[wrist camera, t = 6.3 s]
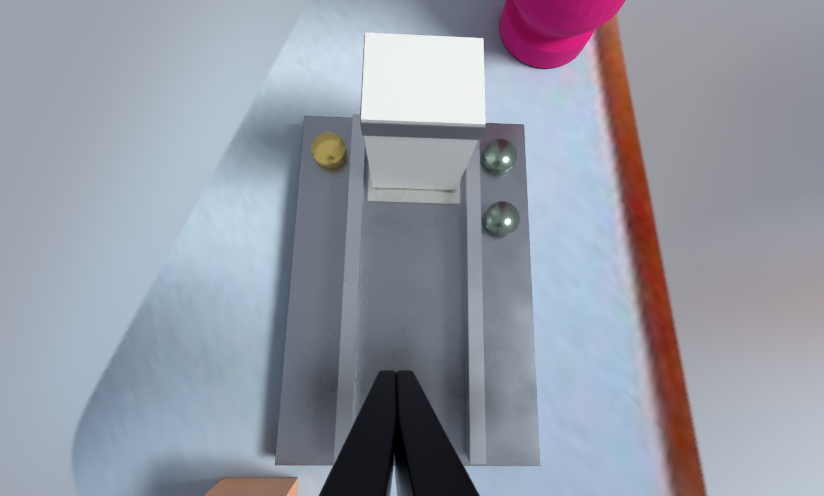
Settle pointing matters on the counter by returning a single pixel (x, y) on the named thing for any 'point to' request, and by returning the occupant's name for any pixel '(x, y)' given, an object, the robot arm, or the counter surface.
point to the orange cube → (255, 487)
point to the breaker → (421, 108)
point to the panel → (410, 298)
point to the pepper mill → (552, 28)
